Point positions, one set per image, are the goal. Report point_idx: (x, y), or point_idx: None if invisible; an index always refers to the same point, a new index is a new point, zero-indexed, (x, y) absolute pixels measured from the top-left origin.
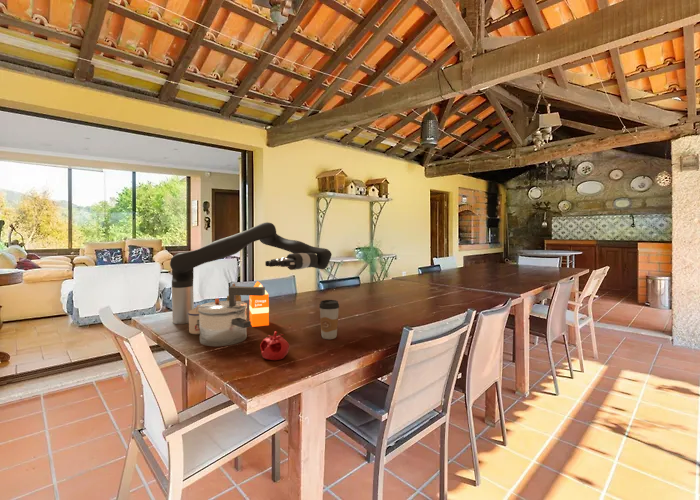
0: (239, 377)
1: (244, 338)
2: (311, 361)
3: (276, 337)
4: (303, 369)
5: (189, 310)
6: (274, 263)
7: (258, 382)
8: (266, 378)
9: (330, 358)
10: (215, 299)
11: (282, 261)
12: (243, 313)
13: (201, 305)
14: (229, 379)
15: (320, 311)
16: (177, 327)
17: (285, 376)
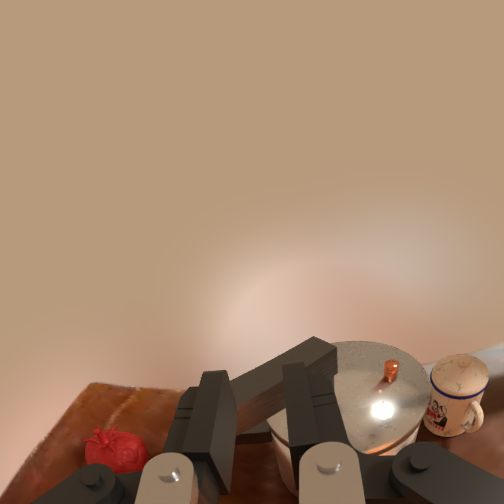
0: (130, 400)
1: (290, 490)
2: (53, 478)
3: (99, 439)
4: (56, 451)
5: None
6: (181, 424)
7: (98, 404)
8: (94, 414)
9: (27, 498)
10: (388, 361)
11: (83, 473)
12: (278, 442)
13: (384, 347)
14: (139, 392)
15: None
16: (498, 377)
17: (72, 427)
